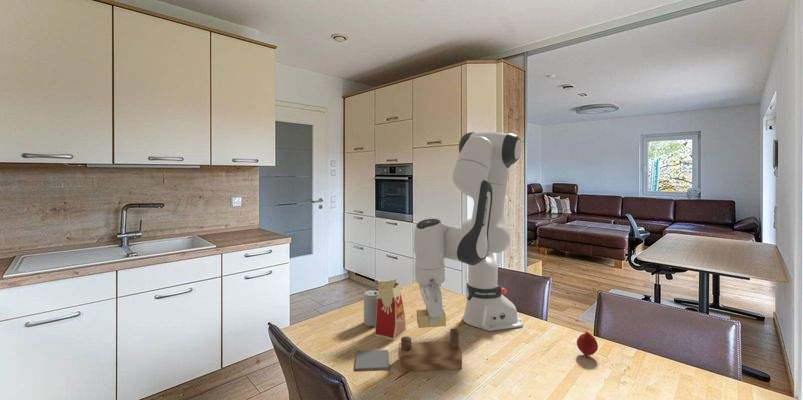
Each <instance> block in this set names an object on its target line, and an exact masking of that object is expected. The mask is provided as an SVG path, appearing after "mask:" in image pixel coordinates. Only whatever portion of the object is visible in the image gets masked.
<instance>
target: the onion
mask: <svg viewBox="0 0 803 400" xmlns="http://www.w3.org/2000/svg"><path fill="white" fill-rule="evenodd" d="M576 347H577V349H578V350H579V351H580V352H581V353H582V354H583V356H585V355H588V356H587V357H589V356H592V355H594V354H595V353H596V352H597V351H598V349H599V345H598V342H597V340H596V338H595V337H594V336H593V335H592V334H591V333H590V332H589V331H588V330H585V331H584V333H582V334H580V335H579V336H578V337H577V340H576Z"/></svg>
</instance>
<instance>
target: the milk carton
mask: <svg viewBox="0 0 803 400" xmlns="http://www.w3.org/2000/svg"><path fill="white" fill-rule="evenodd" d="M376 282H377V283H378V290H377V291H378V298H377V310H376V326H374V327H375V329H374V331H375V332H374V333H375V334H374V336H375V337H377V338H384V339H386V340H390V341H393V342H394V341H396V340H397V339H398V338H400V337H401V336H402V335H403V334H404V333H405V332H406V331H407V323H406V313H405V308H404V302H403V297H402V291H401V287H400V284H399V283H398V282H397V278H393V279H389V280H378V281H376Z"/></svg>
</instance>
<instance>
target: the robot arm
mask: <svg viewBox="0 0 803 400" xmlns="http://www.w3.org/2000/svg"><path fill="white" fill-rule="evenodd" d="M522 150H523V145H522V140H521V138H520V137H519V135H517V134H515V133H511V132H508V133H505V132H497V131H479V132H475V131H472V132H466V133H465V134H464V135H462V136H461V138H460V140H459V143H458V152H459V155H458V157H457V159H456V163H455V164H454V168H453V171H452V182H453V184H454V186H455V187H456V188H457V189H458V191H460V192H461V193H462V194H464V195H465V196H468V197H470V198H471V199H472V200H473V208H472V215H471V218H468V219H466V220H465V221H463V222H462V224H461V227H460V228H457V227H453V226H448V225H445V224H443V223H442V221H441V220H440V219H437V218H427V219H423V220H420V221H418V222H417V223H416V225H415V228H414V231H413V252H414V256H415V261H414V282H416V283H417V284H418V285H419V291H420V295H421V298H422V301H423V303H424V305H425V310H427V311H428V314H429V317H430V318H429V322H430V325H431V326H432V325H436V318H441V317H442V315H443V310H444V309H443V295H442V290H441V289H440V288H441V287H442V284H443V283H444V282H445V281H446V272H445V271H446V269H445V268H446V267H445V266H446V265H445V261H444V260H445V259H448V260H453V261H457V262H461V263H463V264H466V265H467V283H466V288H465V296H466V303H465V308H464V309H465V310H464V312H463V315H462V320H463V322H464V323H466V324H467V325H469V326H472V327H475V328H479V329H482V330H484V331H487V332H492V331H493V332H494V331H499V330H507V329H515V328H522V327H524V320H523V318H522V317H521V316H520V315H519V314H518V311H517V307H516V306H515V304H514V303H513V302H512V301H510V300H509V298H507V297H506V296H505V295H506V294H507V289H506V288H505V287H502V286H501V285H500V284H498V277H499V276H498V274H499V271H498V269H499V267H498V266H499V265H498V263H497V261H496V259H495V256H494V255H495V254H500V253H503V252H505V251H506V250H507V249H508V248H509V246H510V243H511V234H510V232H509V231H508V227H507V225H506V218H505V201H506V194H507V187H508V181H509V168H511V166H512V165H514V164H515V163H516V162H518V160H519V158H520V157H521V153H522Z"/></svg>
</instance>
